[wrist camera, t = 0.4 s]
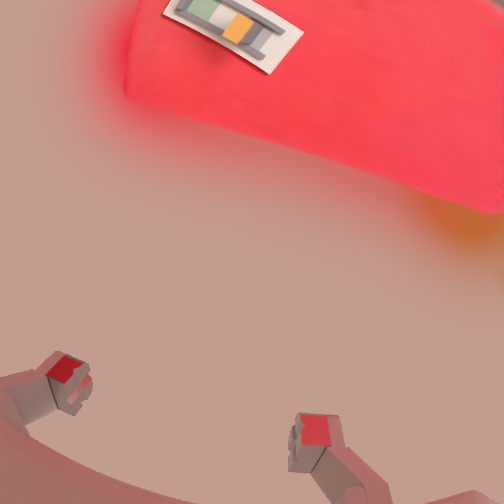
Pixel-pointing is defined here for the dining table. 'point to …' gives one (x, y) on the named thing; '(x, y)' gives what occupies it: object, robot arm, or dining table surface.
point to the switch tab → (242, 30)
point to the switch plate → (220, 16)
